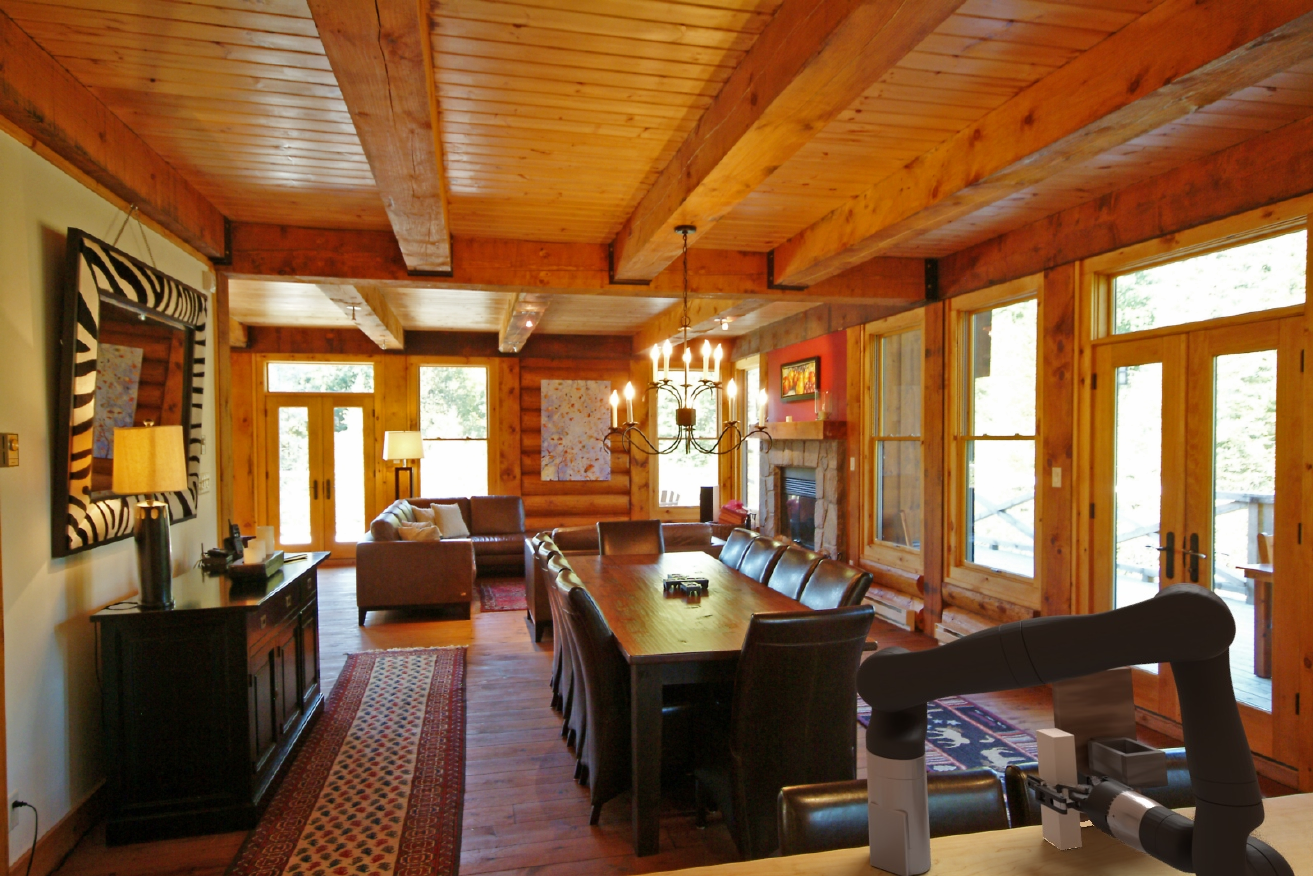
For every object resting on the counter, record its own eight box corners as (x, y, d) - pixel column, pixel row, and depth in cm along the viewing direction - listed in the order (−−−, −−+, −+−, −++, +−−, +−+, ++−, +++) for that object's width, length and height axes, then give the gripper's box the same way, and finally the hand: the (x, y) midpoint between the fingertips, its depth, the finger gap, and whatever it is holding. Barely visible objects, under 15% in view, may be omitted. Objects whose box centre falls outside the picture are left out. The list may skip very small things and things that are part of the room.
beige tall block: (1082, 848, 117) (1074, 735, 119) (1061, 851, 116) (1053, 737, 118) (1063, 836, 121) (1055, 728, 123) (1043, 839, 120) (1036, 730, 122)
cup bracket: (1192, 839, 119) (1179, 680, 122) (1112, 850, 116) (1100, 687, 118) (1130, 809, 131) (1119, 665, 133) (1056, 819, 128) (1046, 671, 130)
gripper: (1168, 787, 107) (1083, 751, 123) (1089, 797, 104) (1012, 758, 120) (1173, 838, 107) (1086, 796, 123) (1092, 850, 104) (1015, 804, 120)
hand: (1049, 777), depth 121 cm, fingers open, 8 cm apart
